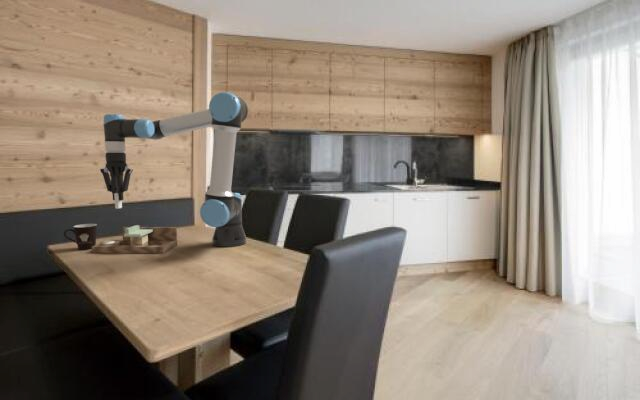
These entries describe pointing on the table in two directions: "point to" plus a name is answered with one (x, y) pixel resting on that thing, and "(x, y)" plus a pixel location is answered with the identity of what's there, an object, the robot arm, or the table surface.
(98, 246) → the puzzle board
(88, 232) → the coffee mug
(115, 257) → the table surface
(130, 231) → the lid
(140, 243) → the maple block
